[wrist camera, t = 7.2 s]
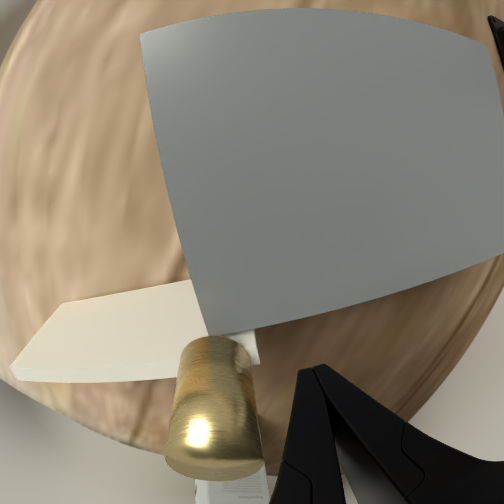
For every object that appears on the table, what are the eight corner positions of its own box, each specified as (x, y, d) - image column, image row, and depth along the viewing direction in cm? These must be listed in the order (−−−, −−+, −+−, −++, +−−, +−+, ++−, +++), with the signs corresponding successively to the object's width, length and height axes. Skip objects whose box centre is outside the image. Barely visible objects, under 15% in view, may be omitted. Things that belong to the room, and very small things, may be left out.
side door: (240, 254, 15) (269, 432, 5) (249, 294, 16) (281, 473, 6) (57, 292, 15) (-39, 407, 5) (71, 324, 16) (-5, 446, 6)
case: (413, 66, 12) (487, 45, 6) (431, 219, 16) (503, 253, 10) (175, 82, 12) (139, 34, 6) (214, 265, 15) (209, 337, 9)
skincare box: (204, 406, 19) (203, 552, 8) (260, 413, 20) (283, 551, 9) (194, 444, 21) (192, 559, 10) (242, 449, 22) (253, 561, 10)
